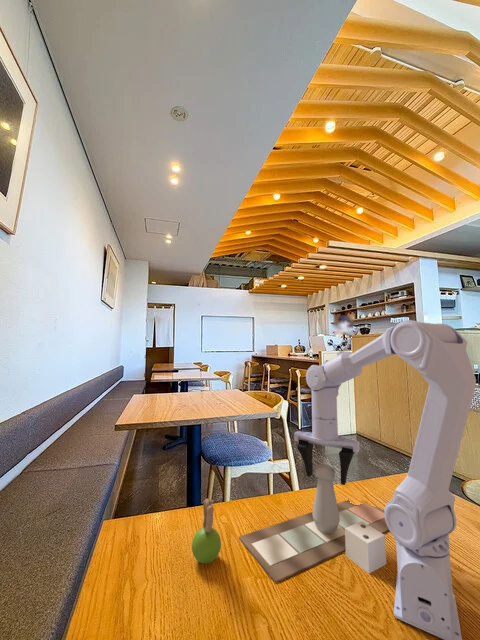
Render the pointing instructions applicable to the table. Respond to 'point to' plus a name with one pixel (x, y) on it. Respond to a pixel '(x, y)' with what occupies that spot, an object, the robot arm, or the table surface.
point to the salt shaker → (325, 501)
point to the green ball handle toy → (206, 537)
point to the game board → (306, 540)
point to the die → (365, 546)
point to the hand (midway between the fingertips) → (326, 478)
